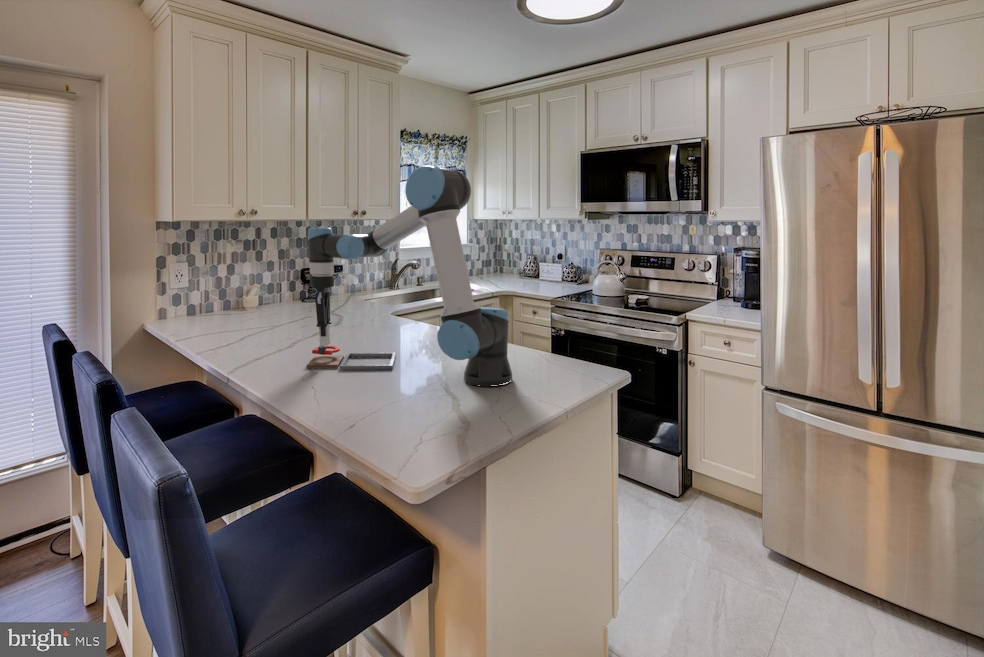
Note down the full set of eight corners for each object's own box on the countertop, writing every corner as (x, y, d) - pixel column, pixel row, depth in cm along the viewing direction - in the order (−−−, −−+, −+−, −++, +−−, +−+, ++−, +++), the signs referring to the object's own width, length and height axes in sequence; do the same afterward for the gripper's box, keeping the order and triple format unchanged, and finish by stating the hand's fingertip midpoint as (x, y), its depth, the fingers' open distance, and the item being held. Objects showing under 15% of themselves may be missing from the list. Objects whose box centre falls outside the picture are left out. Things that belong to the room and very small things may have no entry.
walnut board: (337, 368, 172) (337, 364, 172) (306, 368, 171) (306, 365, 171) (343, 358, 184) (343, 355, 184) (314, 359, 183) (314, 355, 183)
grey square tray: (392, 369, 172) (392, 365, 172) (339, 370, 170) (339, 366, 170) (395, 356, 188) (395, 352, 188) (347, 357, 187) (347, 352, 186)
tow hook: (321, 348, 185) (309, 354, 176) (320, 312, 183) (308, 316, 174) (343, 349, 185) (333, 355, 176) (343, 313, 182) (332, 318, 173)
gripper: (315, 272, 178) (318, 339, 183) (304, 277, 164) (308, 349, 169) (337, 272, 179) (340, 339, 184) (329, 277, 165) (332, 349, 170)
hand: (325, 344), depth 176 cm, fingers closed on tow hook, 2 cm apart
